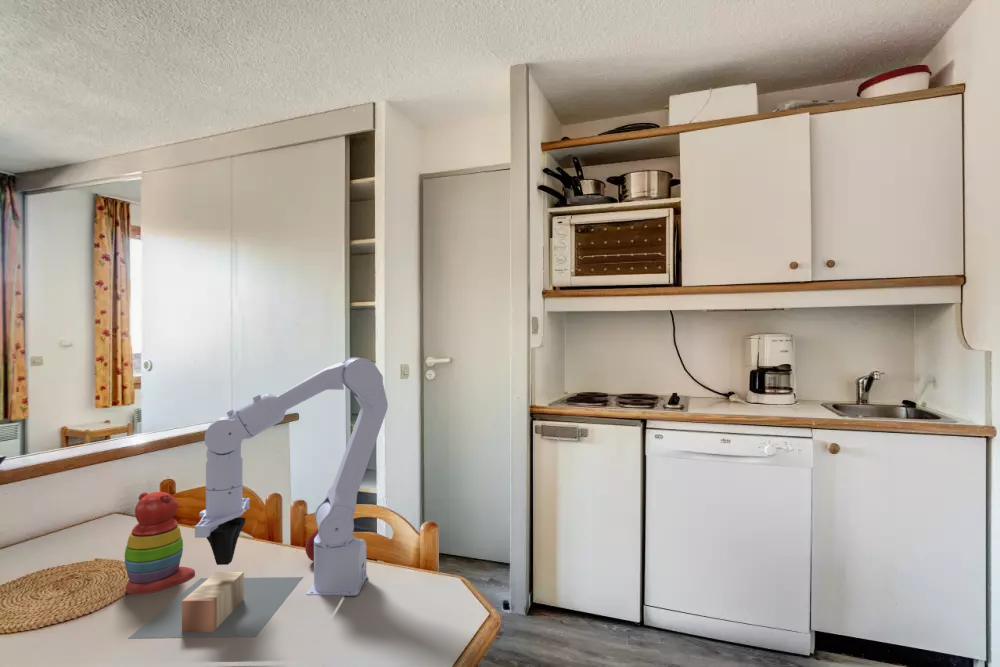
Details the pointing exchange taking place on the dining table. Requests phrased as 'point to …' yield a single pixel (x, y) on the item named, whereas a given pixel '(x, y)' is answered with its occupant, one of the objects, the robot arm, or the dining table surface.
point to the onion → (311, 545)
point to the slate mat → (242, 622)
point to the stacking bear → (155, 546)
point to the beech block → (212, 602)
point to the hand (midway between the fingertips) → (224, 563)
